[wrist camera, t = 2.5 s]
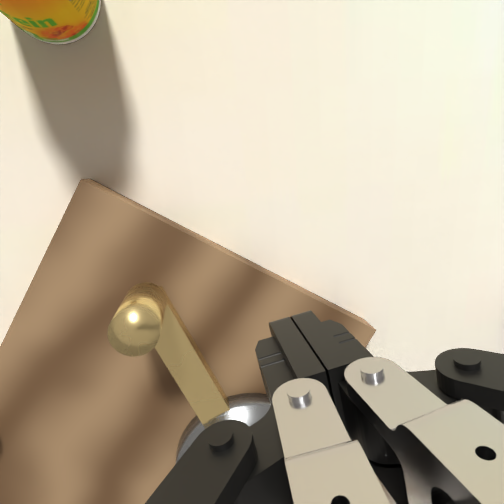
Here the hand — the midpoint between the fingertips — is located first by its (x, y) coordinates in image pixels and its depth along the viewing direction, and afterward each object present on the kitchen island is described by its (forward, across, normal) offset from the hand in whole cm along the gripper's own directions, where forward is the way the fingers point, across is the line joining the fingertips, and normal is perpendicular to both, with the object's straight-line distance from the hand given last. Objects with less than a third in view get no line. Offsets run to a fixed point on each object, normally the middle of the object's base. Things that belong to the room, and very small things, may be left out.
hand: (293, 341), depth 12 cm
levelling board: (+14, +9, +10) cm, 19 cm away
